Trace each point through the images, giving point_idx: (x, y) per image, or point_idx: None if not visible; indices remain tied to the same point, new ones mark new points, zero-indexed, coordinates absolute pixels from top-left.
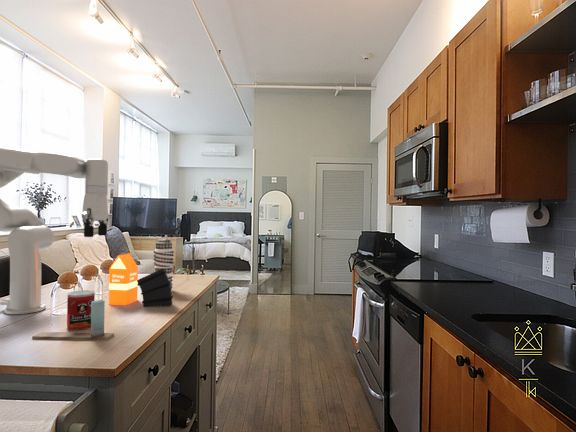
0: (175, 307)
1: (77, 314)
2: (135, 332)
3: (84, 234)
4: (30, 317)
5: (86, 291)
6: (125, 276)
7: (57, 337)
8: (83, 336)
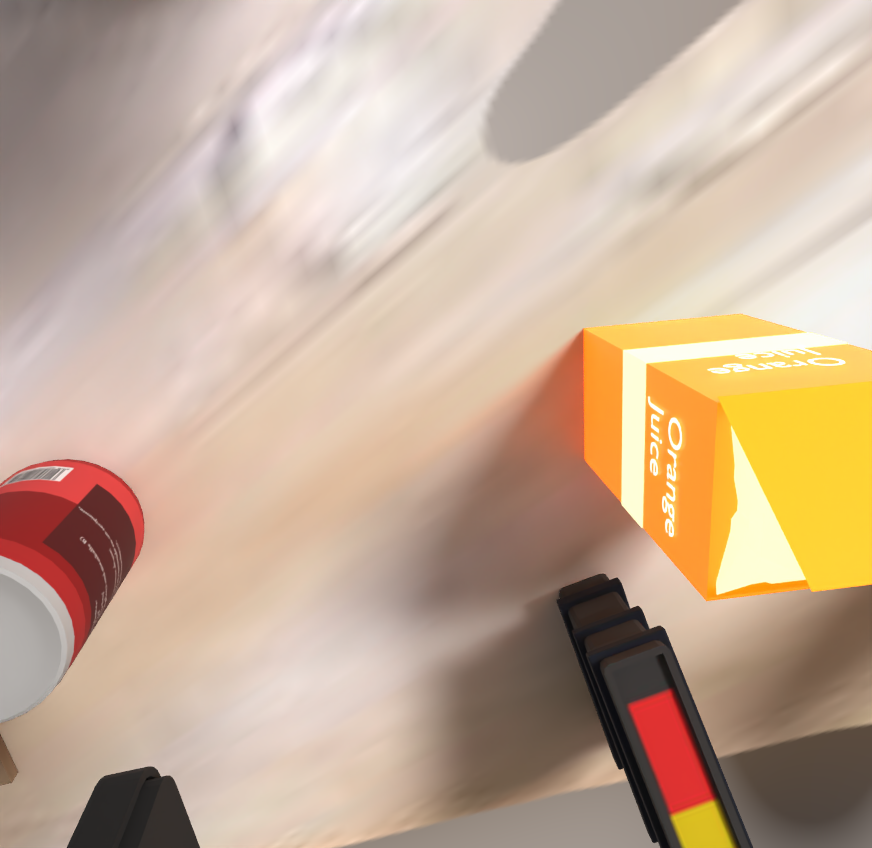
0: (581, 756)
1: None
2: None
3: (81, 839)
4: (101, 15)
5: (42, 625)
6: (672, 549)
7: None
8: None
